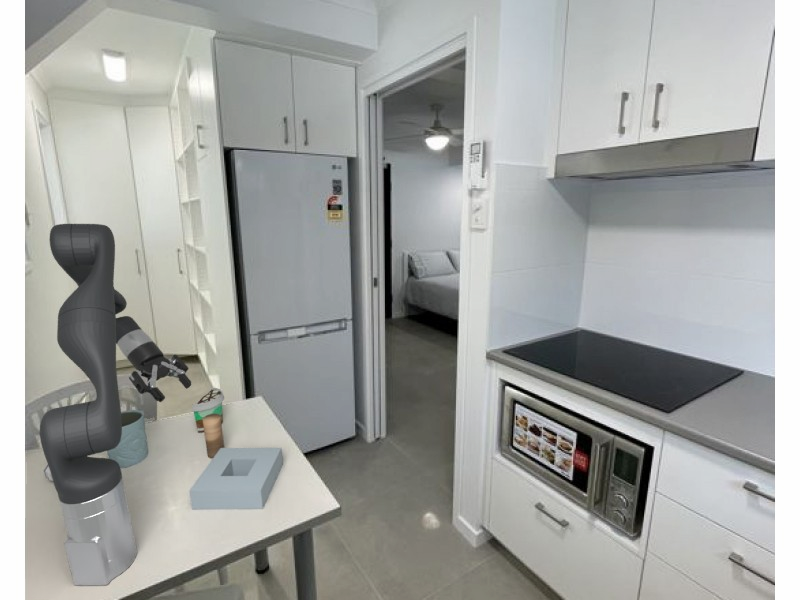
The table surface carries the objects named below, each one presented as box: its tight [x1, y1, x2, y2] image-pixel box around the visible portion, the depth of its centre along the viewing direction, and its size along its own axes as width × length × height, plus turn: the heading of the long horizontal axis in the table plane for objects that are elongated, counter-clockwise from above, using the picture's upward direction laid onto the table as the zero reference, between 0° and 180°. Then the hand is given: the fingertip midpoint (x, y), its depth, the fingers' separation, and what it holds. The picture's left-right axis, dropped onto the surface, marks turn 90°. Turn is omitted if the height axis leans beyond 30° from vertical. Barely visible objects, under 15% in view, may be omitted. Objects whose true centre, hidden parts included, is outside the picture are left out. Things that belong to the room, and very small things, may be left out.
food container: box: [191, 386, 225, 434], centre depth 124 cm, size 12×6×10 cm, turn 179°
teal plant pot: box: [107, 409, 149, 469], centre depth 108 cm, size 10×10×12 cm
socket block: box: [188, 447, 284, 510], centre depth 98 cm, size 16×16×5 cm
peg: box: [203, 414, 225, 459], centre depth 110 cm, size 4×4×11 cm
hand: (176, 393), depth 111 cm, fingers open, 8 cm apart
